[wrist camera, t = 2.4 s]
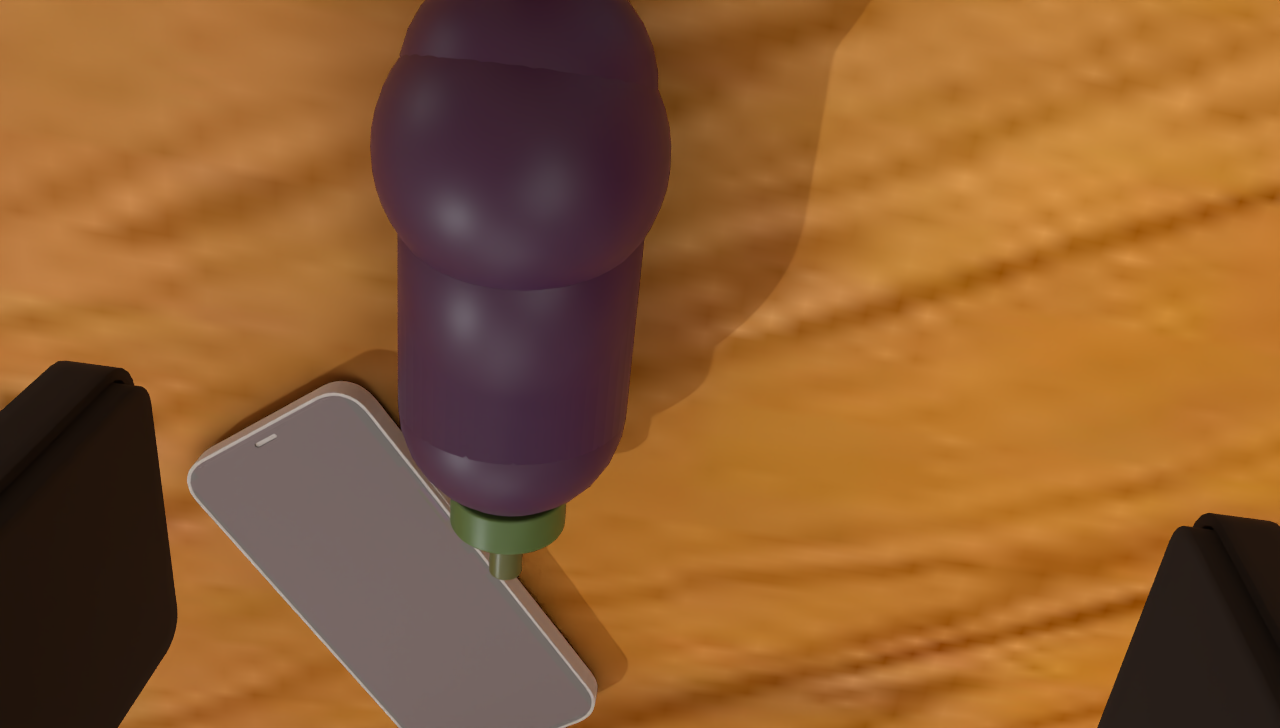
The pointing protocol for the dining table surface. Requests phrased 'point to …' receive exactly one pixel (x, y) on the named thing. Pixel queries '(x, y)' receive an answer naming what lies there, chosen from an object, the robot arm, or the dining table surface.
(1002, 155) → the dining table surface
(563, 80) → the aubergine
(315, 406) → the smartphone
